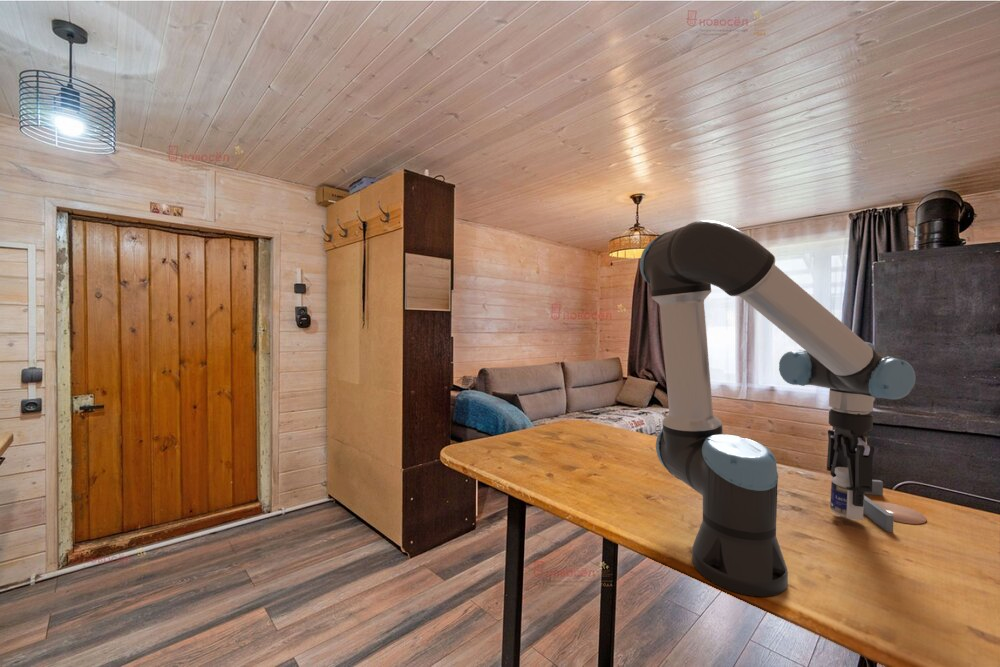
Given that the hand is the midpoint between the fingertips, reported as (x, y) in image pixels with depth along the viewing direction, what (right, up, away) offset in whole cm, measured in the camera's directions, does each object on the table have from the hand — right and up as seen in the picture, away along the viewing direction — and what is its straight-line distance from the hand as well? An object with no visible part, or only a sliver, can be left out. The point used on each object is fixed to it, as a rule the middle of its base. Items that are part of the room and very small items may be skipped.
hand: (846, 511), depth 93 cm
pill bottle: (0, -1, 0) cm, 1 cm away
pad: (+14, -2, +3) cm, 14 cm away
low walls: (+12, -2, +4) cm, 13 cm away
